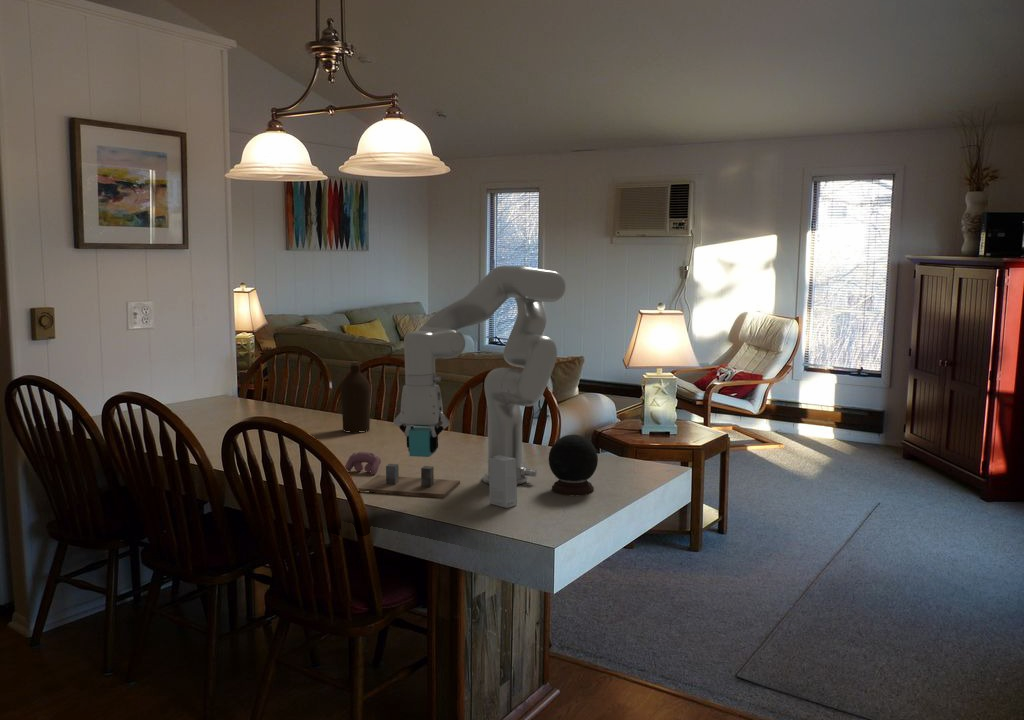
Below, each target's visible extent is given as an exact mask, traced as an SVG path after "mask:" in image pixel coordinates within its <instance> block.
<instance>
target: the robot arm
mask: <svg viewBox="0 0 1024 720" xmlns="http://www.w3.org/2000/svg"><path fill="white" fill-rule="evenodd" d="M565 292H566V281H565V279H564V277H563V276H562V274H560V273H559V272H558V271H555V270H547V269H543V268H542V269H541V268H535V267H529V266H524V265H523V266H522V265H499V266H496V267H495V268H493V269H491V270H490V271H489V272H488V274H486V276H484V277H483V278H482V279H481V280H480V282H478V283H477V284H476V285H475V286H474V288H473V289H471V291H469V292H468V293H467V294H466V295H465V296H464V297H462V298H460V299H458V300H457V301H454V302H453V303H451V304H449V305H447V306H445V307H443V308H442V309H439V310H438V312H435V313H434V314H433V315H432V316H431V317H429V319H427V320H426V322H425V323H424V324H423V325H422V326H421V327H420V328H419V330H412V331H408V332H406V333H405V334H404V338H403V344H404V346H403V347H404V348H403V349H404V350H403V352H404V371H405V372H404V375H405V379H404V380H405V384H404V385H403V386H402V390H401V391H402V392H401V399H400V412H399V414H398V415H397V416H396V417H395V418H394V420H393V424H394V425H395V426H397V427H398V428H399V430H401V431H402V432H403V433H404V436H405V437H406V448H407V450H408V452H409V430H410V429H412V428H413V427H415V426H427V427H429V428H430V431H431V437H430V451H431V453H433V452H435V451H436V452H437V449H438V448H439V435H440V434H441V433H442V432H443V431H444V430H445V429H446V428H447V427H448V426H450V424H451V421H450V420H449V419H448V417H447V416H446V415H445V414H444V406H443V401H442V400H443V399H442V392H441V388H440V386H439V384H437V383H438V382H439V383H440V382H441V380H442V377H441V375H437V373H436V359H453V358H457V357H458V356H460V355H461V354H462V353H463V351H465V347H466V339H465V336H464V335H463V333H461V332H460V331H458V330H462V329H463V328H466V327H470V326H475V325H478V324H481V323H483V322H485V321H488V320H489V319H490V318H492V316H493V315H494V314H495V313H496V312H497V310H499V309H500V308H501V306H502V305H503V304H505V303H506V301H507V300H508V299H510V298H514V299H515V302H516V305H517V306H516V307H517V316H516V320H515V322H514V324H513V326H512V329H511V331H510V334H509V336H508V338H507V341H506V344H505V346H504V349H503V353H502V354H503V358H504V359H503V360H504V361H505V362H506V363H507V364H509V365H511V366H512V367H517V368H523V369H517V368H510V367H497V368H494V369H492V370H490V371H489V372H488V374H487V375H486V377H485V379H484V387H483V388H484V394H485V399H486V406H487V472H486V473H484V474H483V475H482V476H481V477H482V481H483V482H484V483H486V484H488V485H489V458H490V457H494V456H497V455H501V456H506V457H510V458H515V459H516V479H517V486H518V485H521V484H524V483H526V482H527V481H528V477H535V478H536V477H538V470H537V469H535V467H534V468H529V467H526V466H525V465H526V464H525V462H523V415H522V411H521V408H520V406H522V407H532V406H535V405H536V404H537V403H538V402H539V401H540V400H541V399H542V397H543V395H544V393H545V390H546V388H547V385H548V383H549V381H550V378H551V375H552V374H553V370H554V368H555V365H556V363H557V358H558V349H557V345H556V343H555V340H553V339H552V338H550V337H549V336H546V335H543V334H544V332H545V329H546V325H547V314H546V311H545V309H544V306H543V303H542V302H544V303H555V302H557V301H559V300H561V298H562V297H563V296H564V294H565ZM438 423H442V424H440V425H439V426H438ZM436 452H435V453H436Z"/></svg>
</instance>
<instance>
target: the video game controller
mask: <svg viewBox="0 0 1024 720" xmlns="http://www.w3.org/2000/svg"><path fill="white" fill-rule="evenodd" d="M381 460H382V459H381V457H379V456H378V455H377V454H374V453H371V452H369V451H359V452H352V454H351V455H350V456H349V458H348V460H346V463H345V466H344V468H345V467H346V469H347V470H348V471H350V472H351V471H352V469H353V468H354V470H355V472H358V471H360V472H362V471H363V470H364V471H365V472H366V471H367V473H370V474H371V475H372V474H375V475H377V473H378V471H379V467H380V465H381V463H382V462H381ZM363 463H366V465H365V466H364V465H363ZM361 470H362V471H361ZM370 471H371V472H370Z"/></svg>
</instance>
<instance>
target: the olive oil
mask: <svg viewBox="0 0 1024 720" xmlns="http://www.w3.org/2000/svg"><path fill="white" fill-rule="evenodd" d="M360 363H361V362H360V361H356V360H355V361H353V360H352V361H350V365H349V367H350V369H349V370H350V372H349V374H348V375H347V376H346V377H345V378H344V379H343V381H342V382H341V385H340V401H341V413H342V414H341V415H342V431H343V430H345V431H350V432H359V431H366V430H369V431H370V427H371V426H370V424H371V422H370V421H371V420H370V419H371V418H370V417H371V396H372V395H371V392H372V388H371V384H370V382H369V380H368V379H367V378H366V377H365V376H364V375H363V374H362V372H361V365H360Z"/></svg>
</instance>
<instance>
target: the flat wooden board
mask: <svg viewBox="0 0 1024 720" xmlns="http://www.w3.org/2000/svg"><path fill="white" fill-rule="evenodd" d="M434 471H435V470H434V466H431V465H423V466H422V467H421V468H420V476H421V477H409V476H399V482H398V483H397V484H396V485H392V484H386V475H381V474H378V475H376V476H375V477H373V478H371V479H370V480H368V481H367V482H365V483H364V484H363V485H361V486H359V487H357V490H358V489H359V491H369V492H376V493H375V494H380V493H389V494H388V495H394V494H399V495H398V496H408V495H409V496H410V497H425V498H437V499H445V498H446V497H447V496H449V495H450V494H451V493H452V492H453V491H454V490H455V489H456V488H458V487H459V486H460V485H461V480H455V479H439V478H434V476H435V475H434V474H435V473H434ZM459 484H460V485H459ZM458 485H459V486H458Z"/></svg>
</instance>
